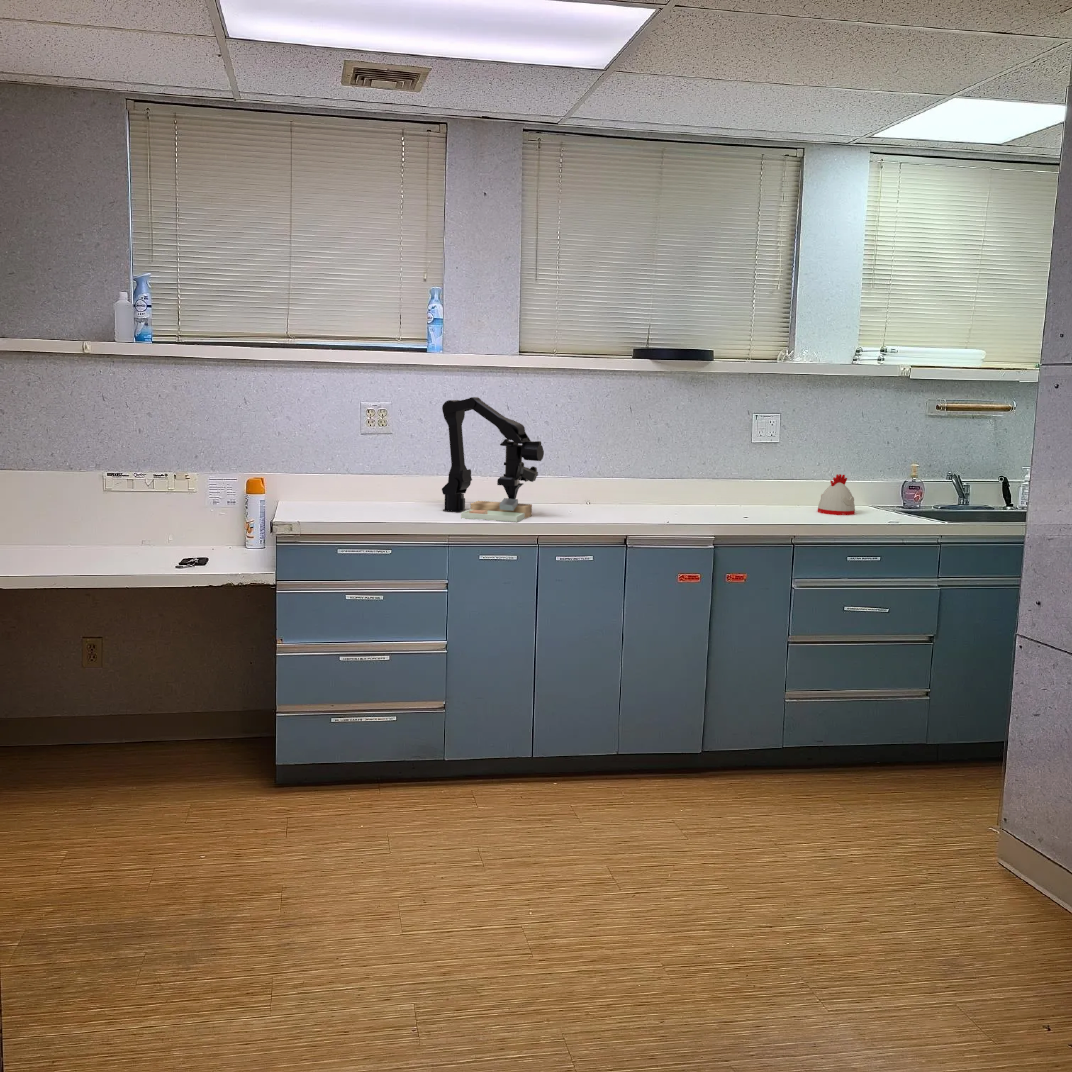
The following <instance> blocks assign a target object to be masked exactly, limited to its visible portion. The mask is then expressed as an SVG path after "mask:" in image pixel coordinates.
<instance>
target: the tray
mask: <svg viewBox="0 0 1072 1072" xmlns="http://www.w3.org/2000/svg"><path fill="white" fill-rule="evenodd" d="M472 510H473V509H471V508H470V509H467V510H464V511H461V512H460V518H461V519H462V518H465V519H464V520H476V519H486V520H485V521H490V520H496V521H495V522H503V523H504V522H506V523H518V522H521V521H523V520H525V519H526V518H525V513H516V512H501V511H488V514H477V513H469V511H472Z"/></svg>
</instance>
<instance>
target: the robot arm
mask: <svg viewBox="0 0 1072 1072" xmlns="http://www.w3.org/2000/svg"><path fill="white" fill-rule="evenodd" d="M441 408H442V409H441V410H442V411H441V412H442V415H443V418H444V420H445V422H446V424H447V427H448V436H449V437H448V438H449V451H450V463H451V464H450V469H449V472H448V479H447V483H446V484H445V485H444V486H443V487H442V488H441V491H442V495H443V496H444V509H442V512H454V513H462V512H464V511H466V498H465V494H466V492H467V490H468V488H469V487H470V486H471V485H472V483H471V482H472V481H473V478H472V470H471V469H468V468H467V466H466V463H465V462H466V461H465V451H464V439H463V426H462V425H463V422H464V419H465V418H466V417H465V416H466V415H465V414H466V412H469V411H471V410H472V411H474V412H476V414H478V415H480V416H481V417H483V418H484V419H486V421H488V422H489V423H491V424H492V425H493V426H495V427H496V428H497V429H498V431H499V432H500V434H501V435H502V436H503V437H504V438H505V439H504V440H503V441H501V443H499V445H500V447H505V461H504V462H503V466H505V470H504V473H503V476H502V475H501V476H500V477H498V479H497V481H496V482H497V483H496V484H497V486H502V487H503V489H504V490H505V491H504V492H506V495H507V498H510V499H517V495H518V491H519V489H520V488H521V487H522V486H523V485H524V483H521V482H520V481H523V482H525V483H526V482H532V483H534V482H535V481H536V479H537V477H538V476H539V472H538V469H537V468H538V467H536V466H533V465H532V466H531V467H526V466H525V463H524V461H535V462H541V461H542V460H543V458H544V454H545V451H544V447H543V445H542V441H541V440H537V441H536V440H535V441H532V440H531V439H530V437H529V436H528V434H527V433H526V429H525V426H524V425H523V424H522V423H521V422H518V421H516V420H514V419H510V418H508V417H505V416H504V415H503V414H501V413H500V412H499V411H497V410H496V409H494V408H493V407H491V406H490V405H489V404H487V403H485V401H483V400H482V399H481V398H480V397H477V396H474V397H469V398H465V399H460V400H458V399H448V400H446V401H445V402H444V403H443V404H442V407H441ZM523 460H524V461H523Z"/></svg>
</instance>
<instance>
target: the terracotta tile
mask: <svg viewBox="0 0 1072 1072" xmlns="http://www.w3.org/2000/svg"><path fill="white" fill-rule="evenodd" d="M469 513H477V514H488V511H487V510H472V511H469Z"/></svg>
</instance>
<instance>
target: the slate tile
mask: <svg viewBox="0 0 1072 1072" xmlns="http://www.w3.org/2000/svg"><path fill="white" fill-rule="evenodd" d="M518 504H519V499H518V498H516V499H510V498H508V497H504V498H503V499H502V500H501V503H500V504H499V506H500V509H501V510H511V511H513V510H514V509H515V508H516V507H517V505H518Z"/></svg>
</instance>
